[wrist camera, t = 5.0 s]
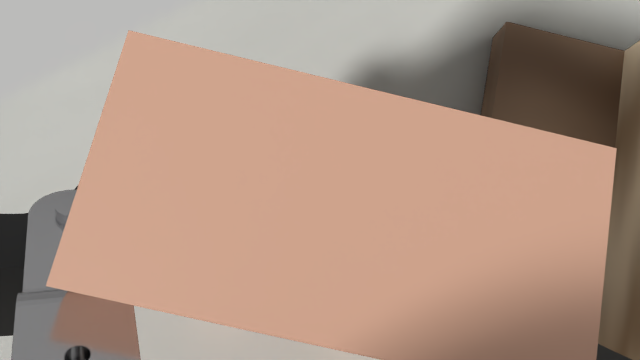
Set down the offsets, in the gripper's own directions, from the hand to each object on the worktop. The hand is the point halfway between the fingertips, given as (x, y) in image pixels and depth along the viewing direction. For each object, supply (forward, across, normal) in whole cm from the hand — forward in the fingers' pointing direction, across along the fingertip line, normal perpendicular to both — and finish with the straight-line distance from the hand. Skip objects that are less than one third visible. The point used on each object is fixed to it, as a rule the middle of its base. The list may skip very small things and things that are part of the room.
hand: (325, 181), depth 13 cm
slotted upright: (+3, 0, +5) cm, 6 cm away
